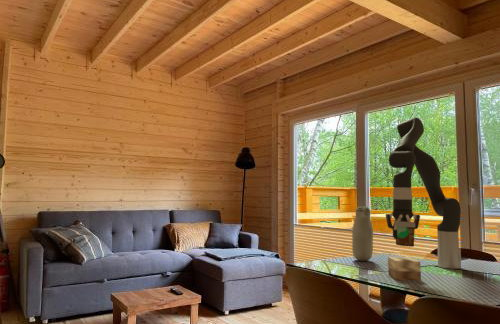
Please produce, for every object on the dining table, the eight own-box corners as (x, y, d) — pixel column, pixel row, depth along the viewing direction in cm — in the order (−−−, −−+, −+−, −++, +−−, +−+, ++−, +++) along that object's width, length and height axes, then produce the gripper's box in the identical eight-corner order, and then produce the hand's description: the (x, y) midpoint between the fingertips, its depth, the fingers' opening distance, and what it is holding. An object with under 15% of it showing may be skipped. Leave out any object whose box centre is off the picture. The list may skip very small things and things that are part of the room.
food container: (388, 242, 173) (388, 219, 174) (402, 243, 174) (401, 220, 174) (400, 246, 161) (400, 221, 162) (415, 247, 161) (415, 222, 162)
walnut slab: (412, 276, 171) (412, 267, 171) (420, 281, 161) (420, 271, 161) (388, 275, 171) (388, 266, 172) (395, 281, 161) (395, 271, 162)
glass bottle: (349, 260, 206) (349, 206, 208) (358, 258, 213) (358, 205, 216) (367, 263, 199) (367, 206, 201) (376, 260, 207) (375, 206, 209)
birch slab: (411, 267, 171) (411, 257, 171) (420, 271, 161) (420, 261, 161) (388, 266, 172) (388, 257, 172) (395, 270, 162) (394, 260, 162)
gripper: (416, 198, 172) (417, 238, 171) (382, 198, 173) (382, 237, 172) (423, 199, 164) (423, 240, 163) (387, 198, 165) (387, 239, 164)
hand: (402, 238), depth 167 cm, fingers closed on food container, 5 cm apart
